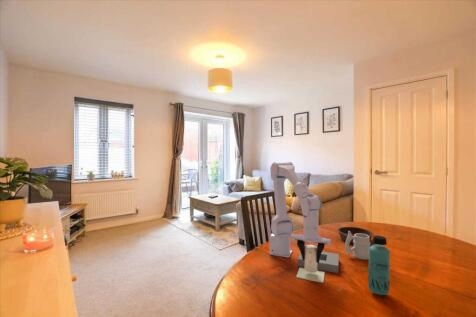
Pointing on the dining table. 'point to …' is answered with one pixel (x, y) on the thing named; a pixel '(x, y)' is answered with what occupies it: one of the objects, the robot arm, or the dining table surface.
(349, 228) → the dish
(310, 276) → the mat
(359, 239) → the mug
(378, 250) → the beverage bottle
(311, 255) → the cream strapped capsule
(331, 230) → the dining table surface
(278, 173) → the robot arm
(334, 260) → the holder
